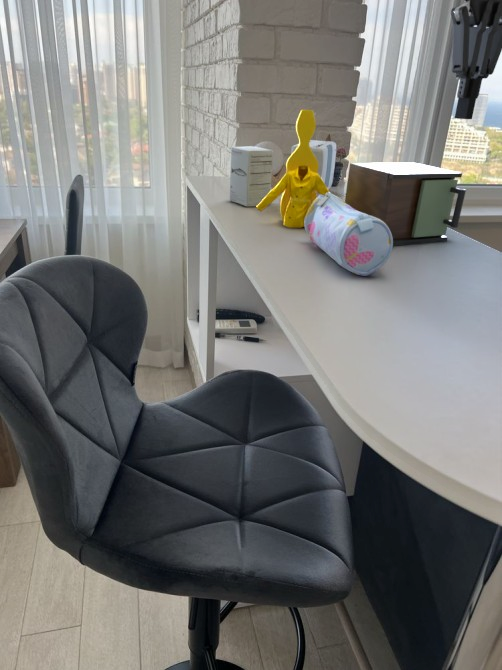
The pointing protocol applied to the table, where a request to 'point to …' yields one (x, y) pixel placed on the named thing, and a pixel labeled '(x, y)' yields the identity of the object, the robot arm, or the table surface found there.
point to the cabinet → (392, 195)
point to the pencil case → (348, 234)
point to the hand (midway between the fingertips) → (463, 118)
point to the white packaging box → (250, 174)
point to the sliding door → (437, 207)
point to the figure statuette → (298, 177)
